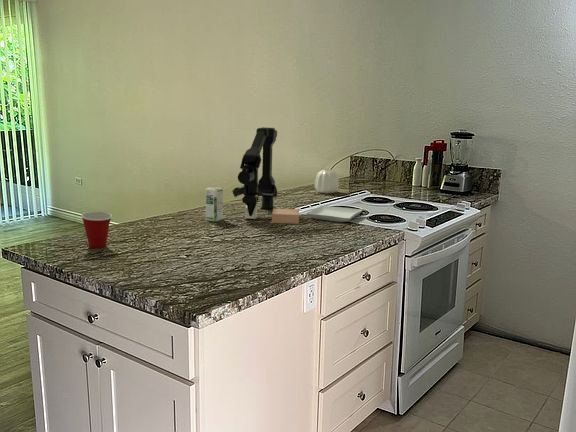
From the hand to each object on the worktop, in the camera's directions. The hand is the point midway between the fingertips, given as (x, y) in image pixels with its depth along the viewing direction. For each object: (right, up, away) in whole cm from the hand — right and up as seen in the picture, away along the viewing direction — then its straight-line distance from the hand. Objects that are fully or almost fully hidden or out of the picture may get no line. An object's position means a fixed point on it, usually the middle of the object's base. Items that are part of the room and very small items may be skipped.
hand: (251, 214), depth 262 cm
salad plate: (+39, -2, +7) cm, 39 cm away
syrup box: (-16, -3, -5) cm, 17 cm away
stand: (+16, -3, -2) cm, 16 cm away
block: (0, -1, 0) cm, 1 cm away
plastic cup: (-53, -12, -52) cm, 75 cm away
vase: (+39, +13, +72) cm, 83 cm away
